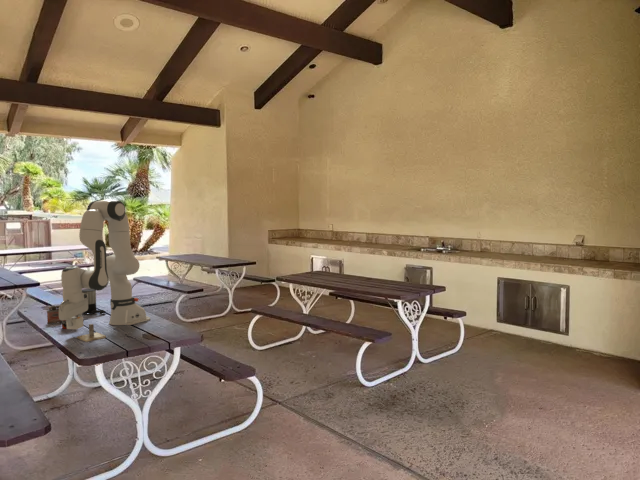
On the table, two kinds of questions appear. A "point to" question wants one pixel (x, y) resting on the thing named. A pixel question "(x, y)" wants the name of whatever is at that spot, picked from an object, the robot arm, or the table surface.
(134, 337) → the table surface
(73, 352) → the table surface
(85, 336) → the shaft block
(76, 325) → the beige hollow cube
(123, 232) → the robot arm
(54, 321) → the ornate red tin
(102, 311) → the milk frother
